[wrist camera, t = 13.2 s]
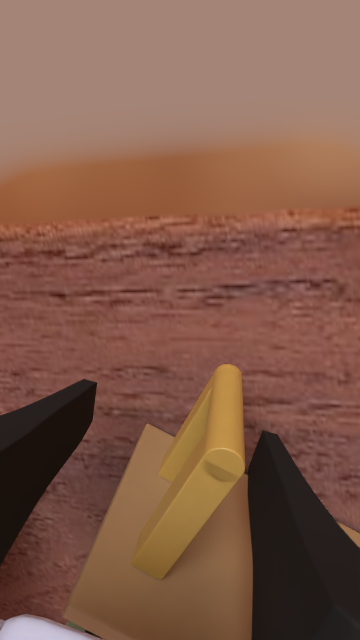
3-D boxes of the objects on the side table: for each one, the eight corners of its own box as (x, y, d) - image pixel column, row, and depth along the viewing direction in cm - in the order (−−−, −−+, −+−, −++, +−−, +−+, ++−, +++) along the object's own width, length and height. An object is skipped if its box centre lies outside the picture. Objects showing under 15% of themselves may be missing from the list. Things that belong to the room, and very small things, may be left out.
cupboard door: (196, 329, 14) (149, 463, 7) (476, 473, 14) (769, 786, 6) (141, 432, 17) (60, 617, 9) (378, 555, 17) (503, 852, 9)
